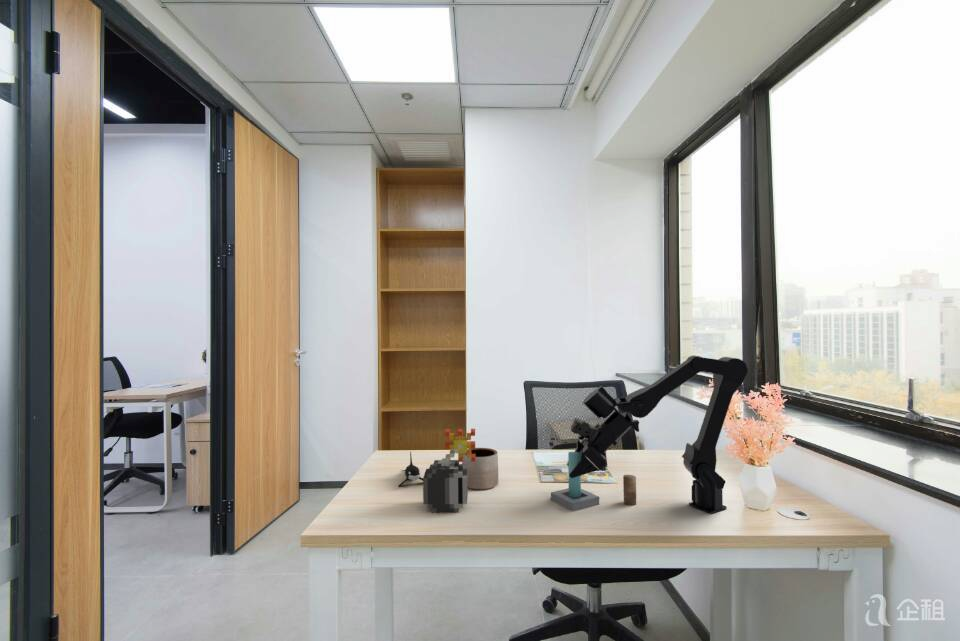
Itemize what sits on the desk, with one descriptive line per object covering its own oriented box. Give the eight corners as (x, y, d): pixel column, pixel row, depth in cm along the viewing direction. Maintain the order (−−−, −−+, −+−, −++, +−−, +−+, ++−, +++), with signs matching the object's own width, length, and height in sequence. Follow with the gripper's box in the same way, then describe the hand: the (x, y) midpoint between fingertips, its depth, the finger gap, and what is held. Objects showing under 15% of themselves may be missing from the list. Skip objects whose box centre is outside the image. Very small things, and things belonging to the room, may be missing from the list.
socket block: (599, 504, 121) (599, 496, 121) (572, 511, 116) (572, 503, 116) (576, 493, 128) (576, 486, 128) (550, 499, 124) (550, 492, 124)
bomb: (426, 501, 124) (425, 427, 124) (475, 500, 124) (475, 426, 124) (423, 513, 116) (422, 434, 116) (475, 512, 116) (475, 433, 116)
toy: (433, 485, 133) (431, 449, 136) (399, 489, 130) (397, 452, 133) (422, 480, 153) (420, 449, 155) (392, 483, 150) (391, 451, 153)
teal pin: (583, 501, 122) (582, 453, 123) (576, 505, 120) (576, 455, 120) (573, 498, 125) (572, 450, 125) (566, 502, 122) (565, 453, 122)
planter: (489, 493, 130) (489, 459, 130) (455, 487, 134) (455, 454, 134) (503, 481, 140) (503, 449, 140) (471, 476, 144) (471, 446, 144)
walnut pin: (639, 504, 120) (638, 477, 121) (630, 506, 119) (629, 479, 119) (629, 500, 123) (629, 474, 123) (621, 502, 122) (620, 476, 122)
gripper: (585, 402, 131) (546, 440, 133) (592, 415, 113) (547, 459, 114) (613, 431, 130) (574, 468, 132) (625, 448, 112) (580, 492, 113)
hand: (569, 471), depth 123 cm, fingers open, 9 cm apart
